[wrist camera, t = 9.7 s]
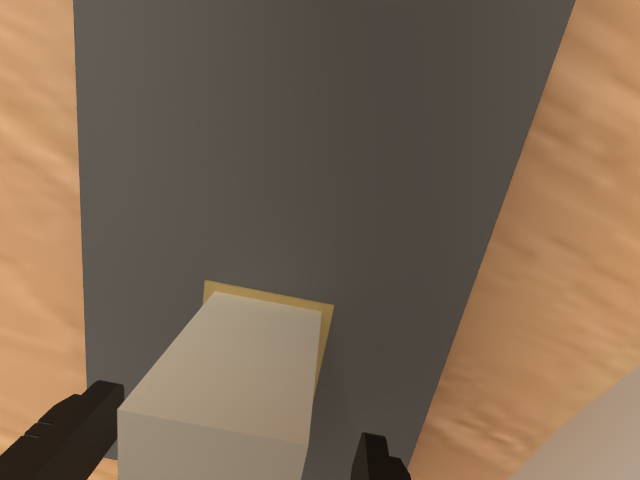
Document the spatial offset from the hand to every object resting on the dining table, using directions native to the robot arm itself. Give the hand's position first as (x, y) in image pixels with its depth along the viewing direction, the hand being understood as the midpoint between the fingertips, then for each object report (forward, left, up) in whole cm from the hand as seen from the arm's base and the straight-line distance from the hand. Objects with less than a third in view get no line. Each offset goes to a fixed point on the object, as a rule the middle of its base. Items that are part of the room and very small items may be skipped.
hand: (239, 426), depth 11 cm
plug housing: (0, 0, -2) cm, 2 cm away
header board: (-5, 0, -4) cm, 6 cm away
